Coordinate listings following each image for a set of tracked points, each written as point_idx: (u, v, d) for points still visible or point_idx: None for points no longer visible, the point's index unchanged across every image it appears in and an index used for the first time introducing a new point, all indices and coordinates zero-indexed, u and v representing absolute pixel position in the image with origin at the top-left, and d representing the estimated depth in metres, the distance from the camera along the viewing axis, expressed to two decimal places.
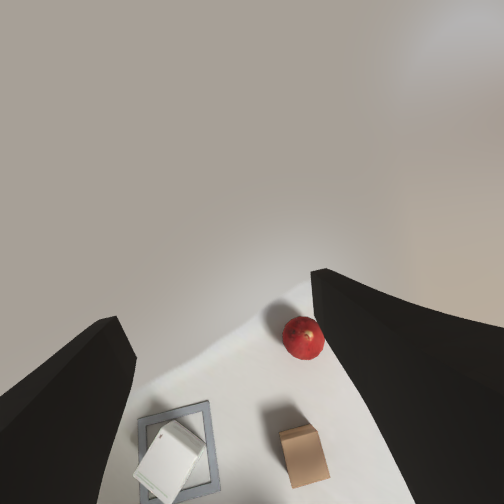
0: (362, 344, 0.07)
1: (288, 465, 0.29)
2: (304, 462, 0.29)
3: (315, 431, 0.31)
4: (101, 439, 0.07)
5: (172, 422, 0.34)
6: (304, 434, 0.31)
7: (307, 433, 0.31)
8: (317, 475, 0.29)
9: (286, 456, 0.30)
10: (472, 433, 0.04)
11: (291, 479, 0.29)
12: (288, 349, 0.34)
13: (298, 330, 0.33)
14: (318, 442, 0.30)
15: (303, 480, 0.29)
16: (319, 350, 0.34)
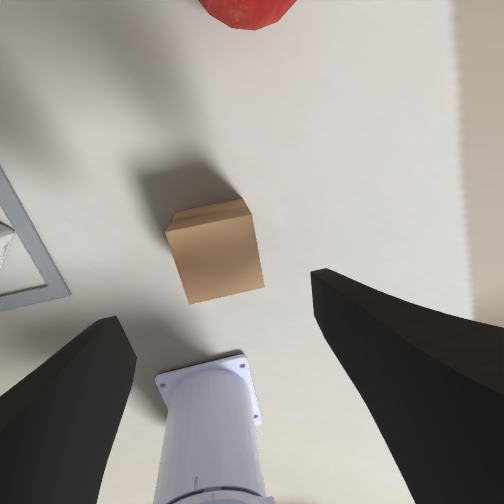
0: (362, 344, 0.07)
1: (181, 272, 0.14)
2: (217, 266, 0.14)
3: (247, 214, 0.13)
4: (101, 439, 0.07)
5: None
6: (221, 219, 0.13)
7: (228, 217, 0.13)
8: (240, 285, 0.15)
9: (177, 258, 0.13)
10: (472, 433, 0.04)
11: (187, 292, 0.14)
12: None
13: None
14: (250, 234, 0.13)
15: (211, 292, 0.15)
16: None
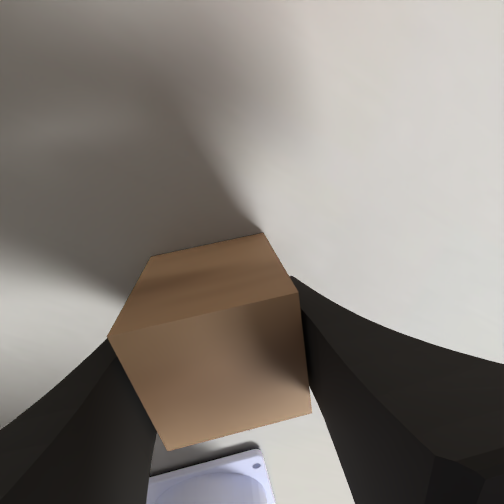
0: (314, 356, 0.06)
1: (149, 404, 0.07)
2: (222, 388, 0.07)
3: (287, 289, 0.06)
4: (148, 427, 0.07)
5: None
6: (231, 302, 0.06)
7: (247, 297, 0.06)
8: (266, 413, 0.08)
9: (138, 381, 0.06)
10: (386, 457, 0.03)
11: (163, 434, 0.07)
12: None
13: None
14: (293, 329, 0.06)
15: (211, 429, 0.07)
16: None
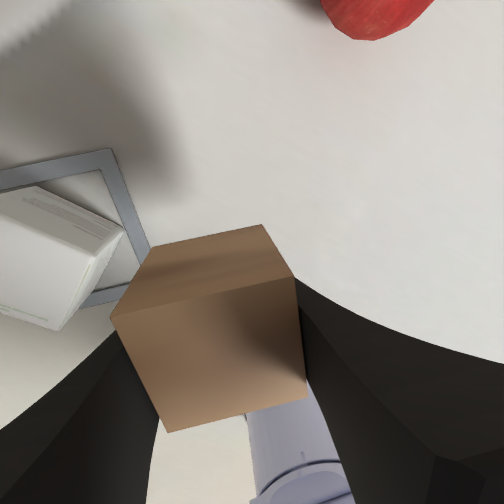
0: (315, 356, 0.06)
1: (150, 385, 0.07)
2: (221, 370, 0.07)
3: (283, 273, 0.06)
4: (147, 427, 0.07)
5: (24, 191, 0.14)
6: (229, 285, 0.06)
7: (244, 280, 0.06)
8: (264, 397, 0.08)
9: (139, 362, 0.07)
10: (387, 457, 0.03)
11: (163, 415, 0.07)
12: None
13: None
14: (289, 312, 0.07)
15: (210, 412, 0.08)
16: None
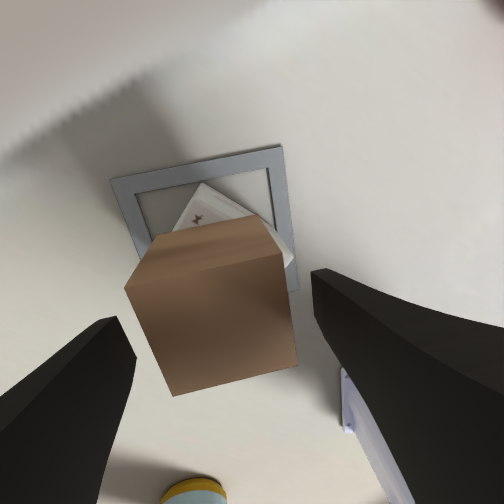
0: (362, 344, 0.07)
1: (157, 351, 0.08)
2: (219, 339, 0.08)
3: (273, 252, 0.07)
4: (101, 439, 0.07)
5: (205, 188, 0.14)
6: (227, 262, 0.07)
7: (240, 258, 0.07)
8: (258, 364, 0.09)
9: (148, 330, 0.08)
10: (472, 433, 0.04)
11: (169, 380, 0.08)
12: None
13: None
14: (278, 286, 0.08)
15: (210, 377, 0.09)
16: None
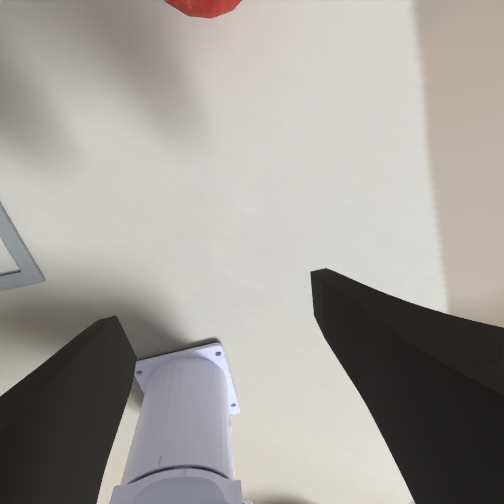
0: (362, 344, 0.07)
1: None
2: None
3: None
4: (101, 439, 0.07)
5: None
6: None
7: None
8: None
9: None
10: (472, 433, 0.04)
11: None
12: None
13: None
14: None
15: None
16: None
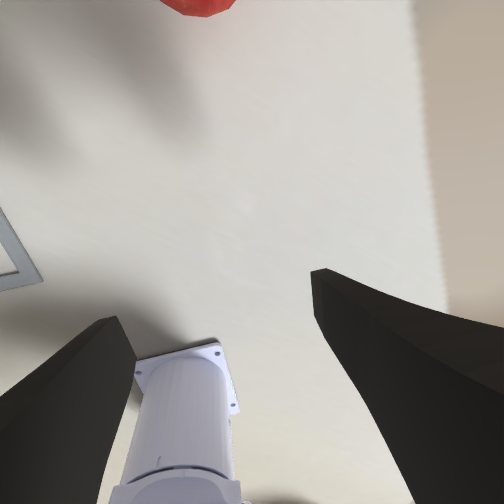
0: (362, 344, 0.07)
1: None
2: None
3: None
4: (101, 439, 0.07)
5: None
6: None
7: None
8: None
9: None
10: (472, 433, 0.04)
11: None
12: None
13: None
14: None
15: None
16: None
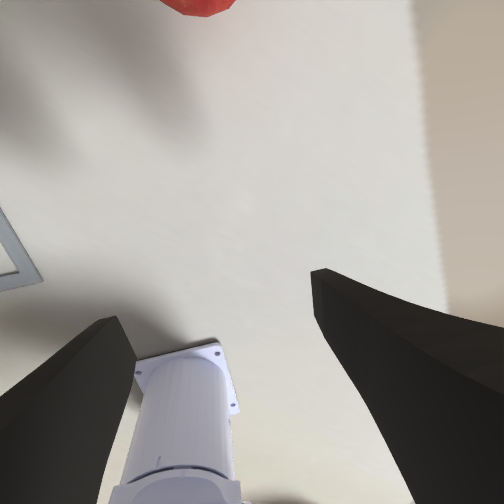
0: (362, 344, 0.07)
1: None
2: None
3: None
4: (101, 439, 0.07)
5: None
6: None
7: None
8: None
9: None
10: (472, 433, 0.04)
11: None
12: None
13: None
14: None
15: None
16: None
